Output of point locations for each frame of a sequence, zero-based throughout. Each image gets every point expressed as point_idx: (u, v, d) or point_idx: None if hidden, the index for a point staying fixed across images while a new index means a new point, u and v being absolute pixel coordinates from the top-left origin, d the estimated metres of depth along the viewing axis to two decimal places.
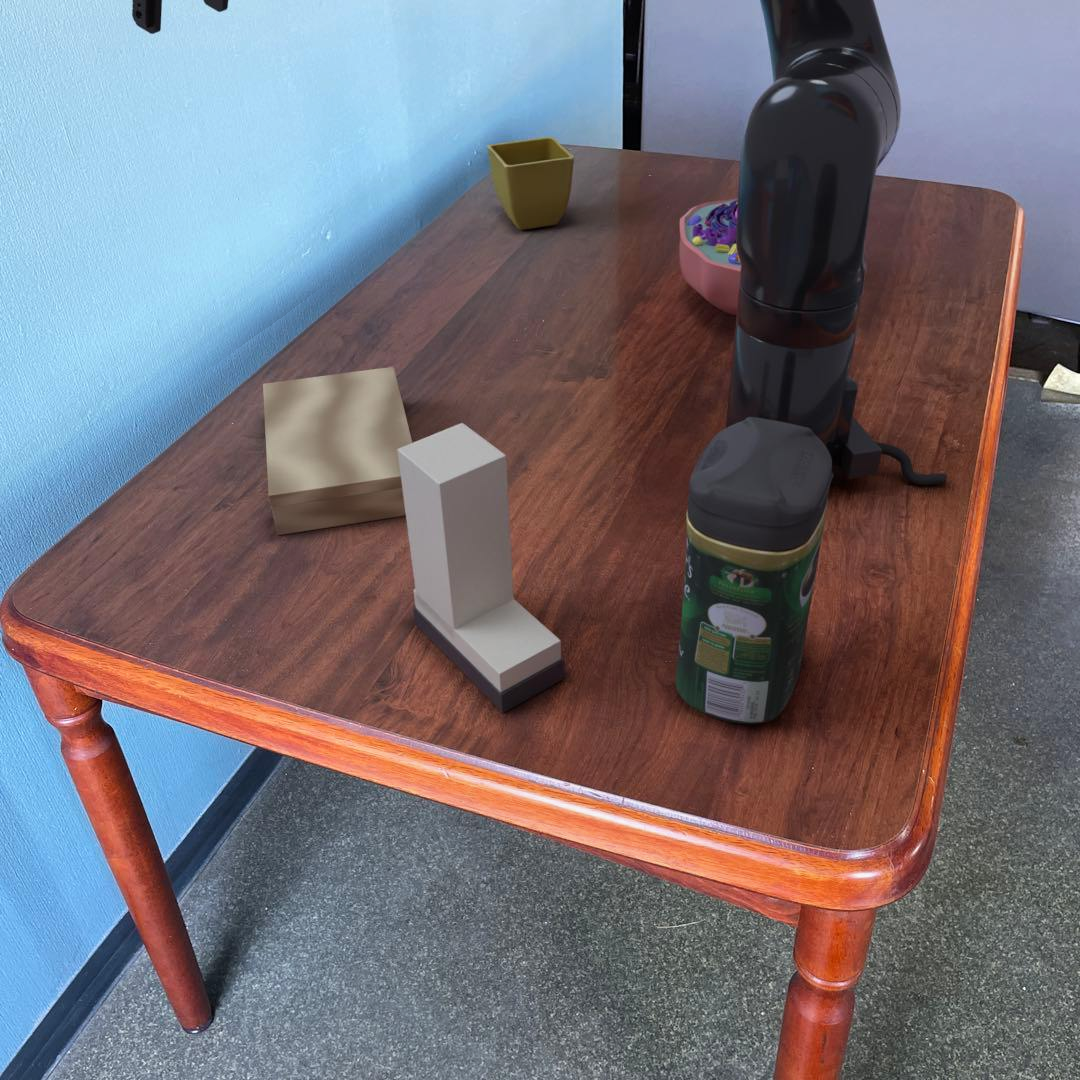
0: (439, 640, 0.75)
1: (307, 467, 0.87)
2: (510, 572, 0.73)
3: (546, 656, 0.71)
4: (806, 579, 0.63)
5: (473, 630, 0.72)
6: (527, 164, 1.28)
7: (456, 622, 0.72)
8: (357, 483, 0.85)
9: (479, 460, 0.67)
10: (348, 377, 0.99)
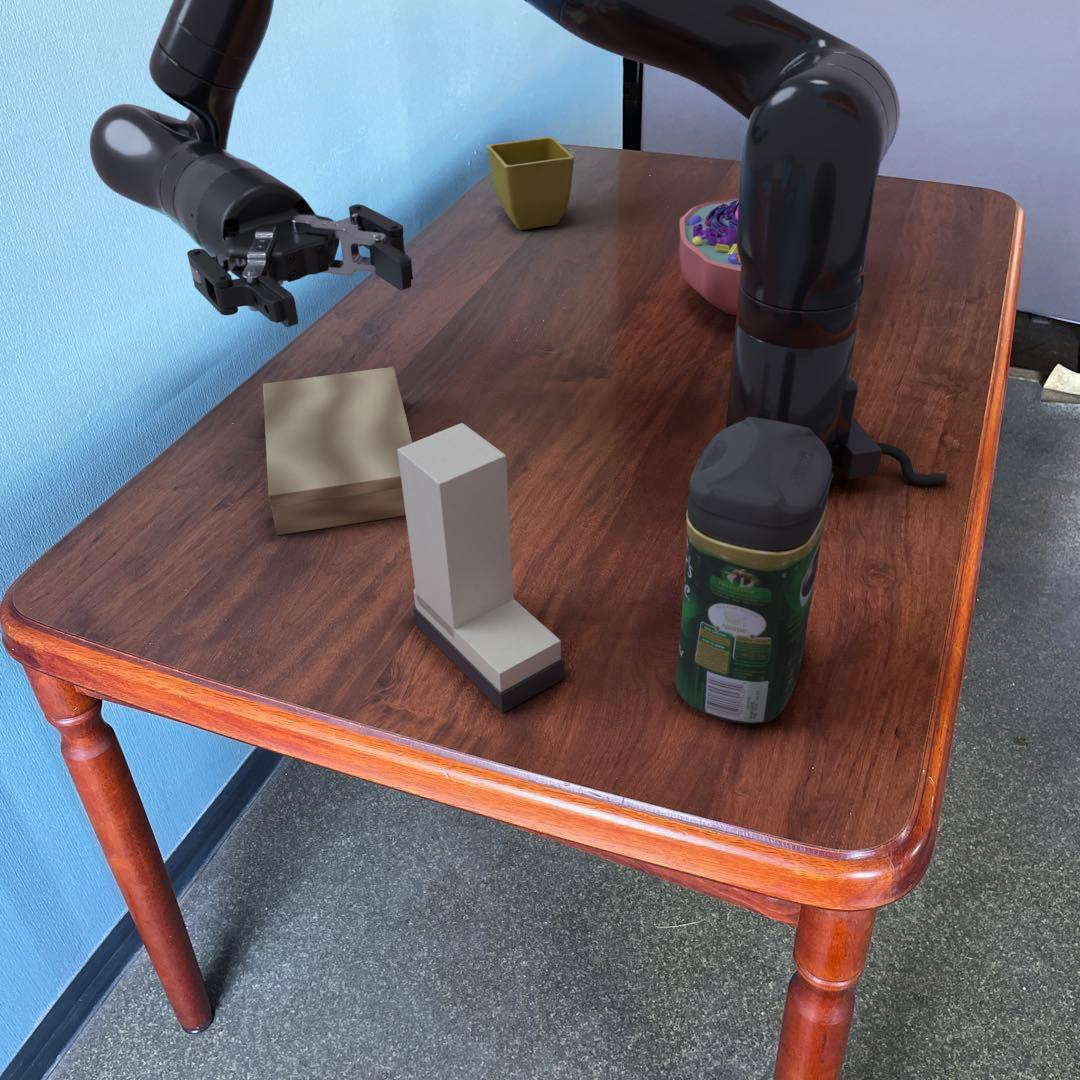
0: (439, 640, 0.75)
1: (307, 467, 0.87)
2: (510, 572, 0.73)
3: (546, 656, 0.71)
4: (806, 579, 0.63)
5: (473, 630, 0.72)
6: (527, 164, 1.28)
7: (456, 622, 0.72)
8: (357, 483, 0.85)
9: (479, 460, 0.67)
10: (348, 377, 0.99)
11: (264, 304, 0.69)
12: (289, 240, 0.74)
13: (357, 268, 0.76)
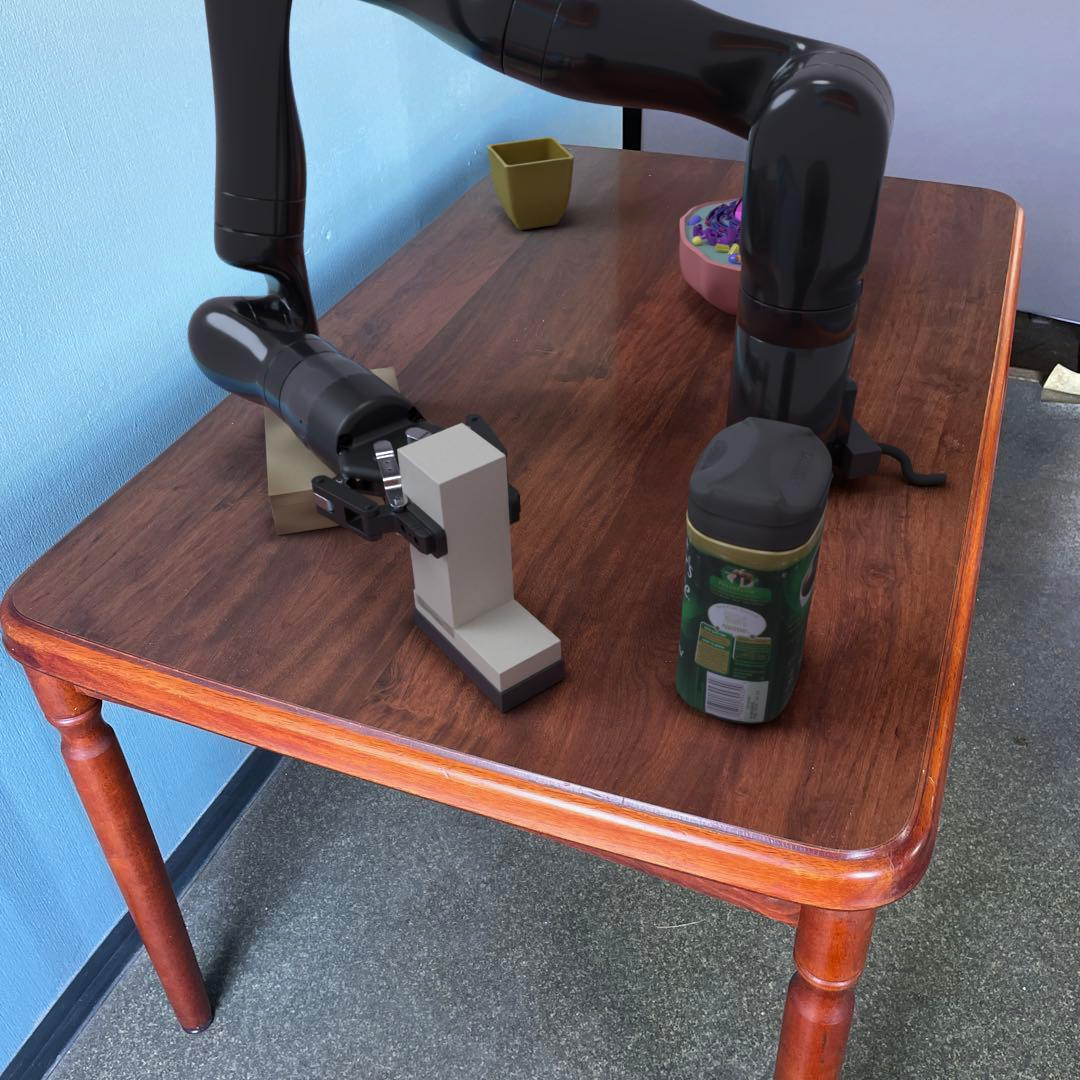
0: (440, 640, 0.75)
1: (307, 467, 0.87)
2: (510, 572, 0.73)
3: (546, 656, 0.71)
4: (806, 579, 0.63)
5: (473, 630, 0.72)
6: (527, 164, 1.28)
7: (456, 622, 0.72)
8: None
9: (479, 460, 0.67)
10: None
11: (414, 536, 0.68)
12: None
13: None
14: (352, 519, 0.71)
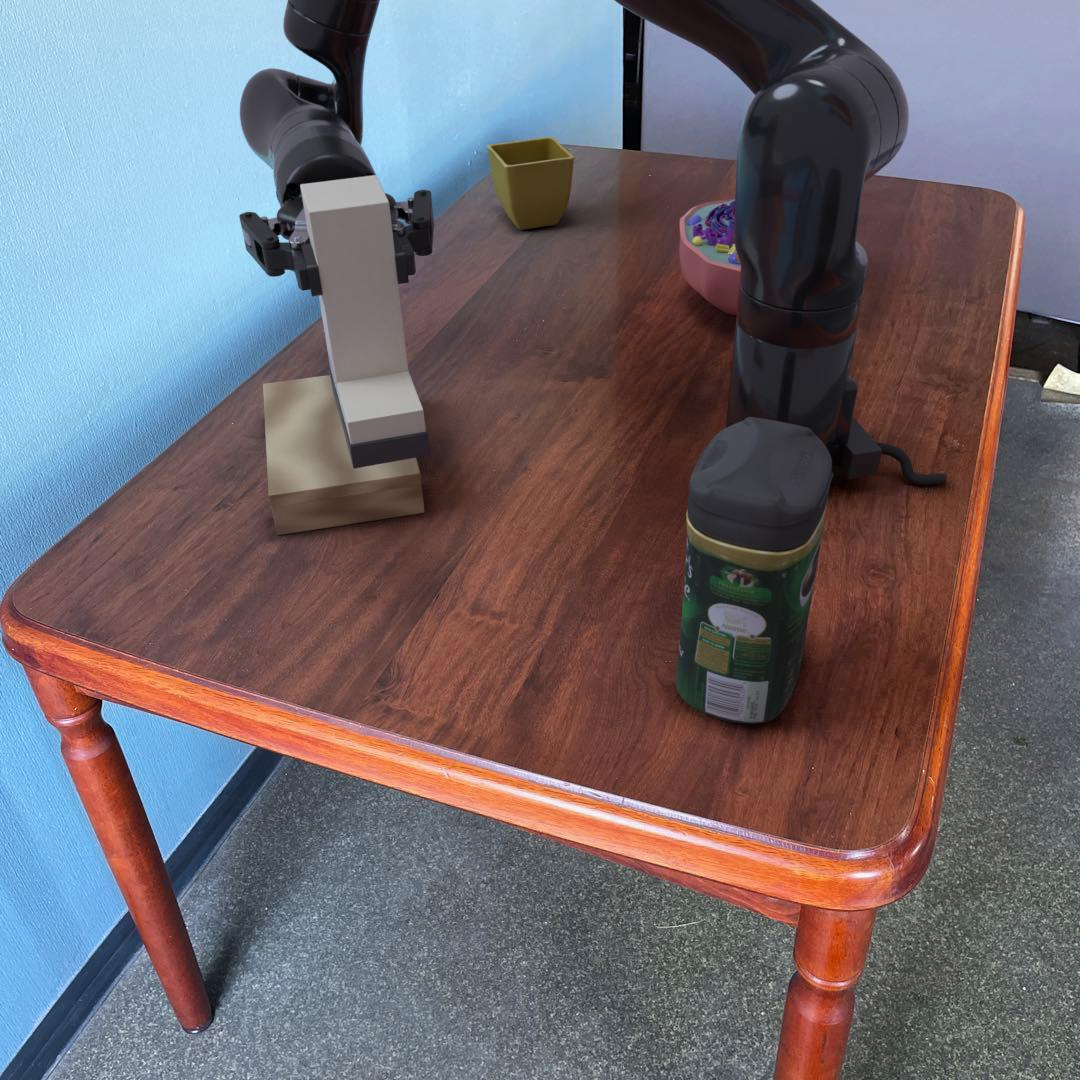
0: (336, 399, 0.76)
1: (307, 467, 0.87)
2: (402, 338, 0.73)
3: (406, 422, 0.71)
4: (806, 579, 0.63)
5: (352, 386, 0.73)
6: (527, 164, 1.28)
7: (338, 375, 0.73)
8: (357, 483, 0.85)
9: (361, 201, 0.67)
10: None
11: (295, 270, 0.69)
12: None
13: None
14: (264, 255, 0.73)
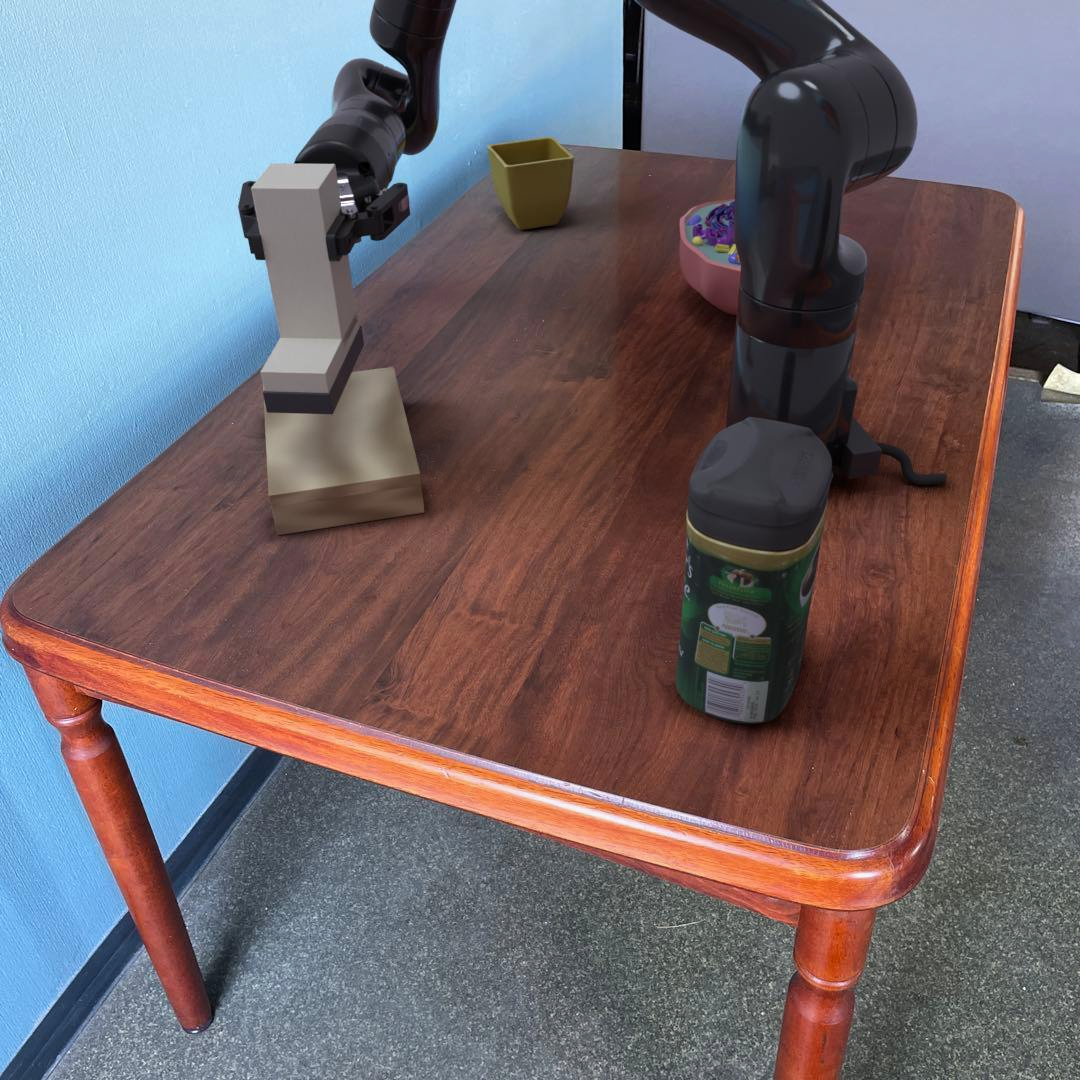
0: None
1: (307, 467, 0.87)
2: (335, 309, 0.83)
3: (310, 381, 0.81)
4: (806, 579, 0.63)
5: (289, 343, 0.84)
6: (527, 164, 1.28)
7: (281, 331, 0.84)
8: (357, 483, 0.85)
9: (298, 185, 0.77)
10: None
11: None
12: None
13: None
14: None
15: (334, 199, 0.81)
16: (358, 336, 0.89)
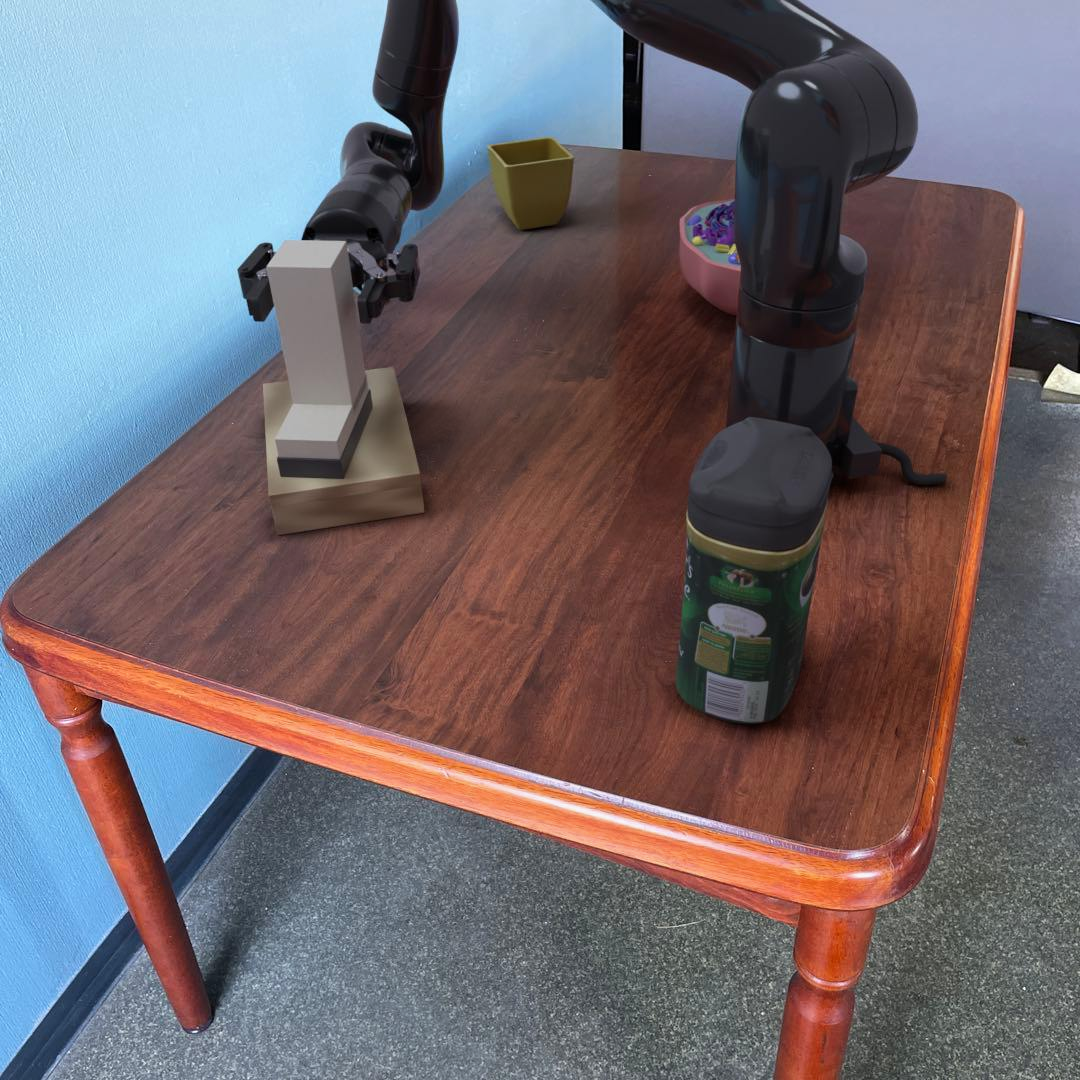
0: None
1: None
2: (345, 378, 0.86)
3: (322, 448, 0.84)
4: (806, 579, 0.63)
5: (301, 409, 0.88)
6: (527, 164, 1.28)
7: (294, 398, 0.88)
8: (357, 483, 0.85)
9: (311, 263, 0.81)
10: None
11: None
12: None
13: None
14: None
15: (345, 274, 0.84)
16: (367, 400, 0.92)
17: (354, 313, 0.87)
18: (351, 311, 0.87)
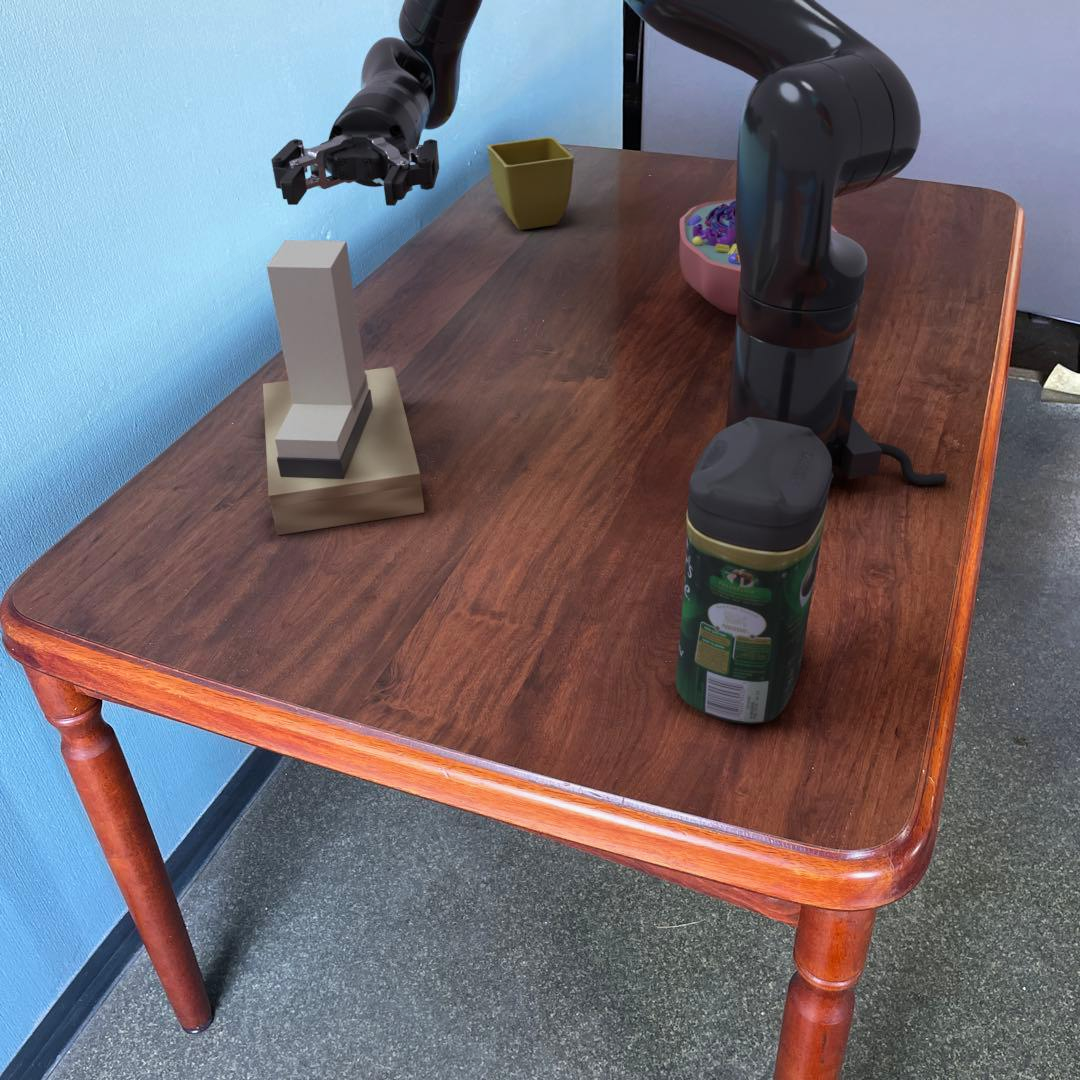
0: None
1: None
2: (345, 378, 0.86)
3: (322, 448, 0.84)
4: (806, 579, 0.63)
5: (301, 409, 0.88)
6: (527, 164, 1.28)
7: (294, 398, 0.88)
8: (357, 483, 0.85)
9: (311, 263, 0.81)
10: None
11: None
12: (355, 150, 0.96)
13: None
14: None
15: (345, 274, 0.84)
16: (367, 400, 0.92)
17: (354, 313, 0.87)
18: (351, 311, 0.87)
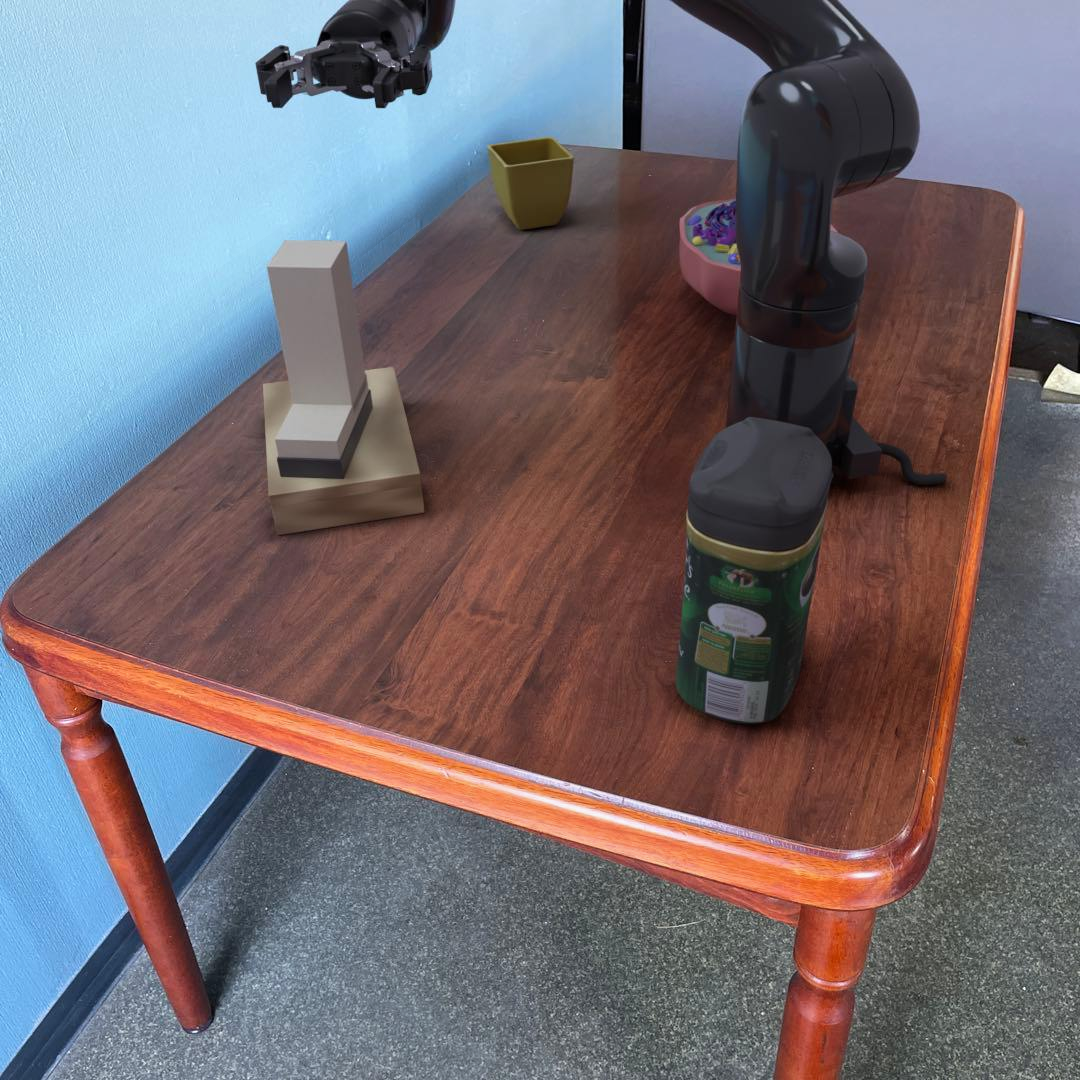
0: None
1: None
2: (345, 378, 0.86)
3: (322, 448, 0.84)
4: (806, 579, 0.63)
5: (301, 409, 0.88)
6: (527, 164, 1.28)
7: (294, 398, 0.88)
8: (357, 483, 0.85)
9: (311, 263, 0.81)
10: None
11: None
12: (343, 54, 0.91)
13: None
14: None
15: (345, 274, 0.84)
16: (367, 400, 0.92)
17: (354, 313, 0.87)
18: (351, 311, 0.87)
